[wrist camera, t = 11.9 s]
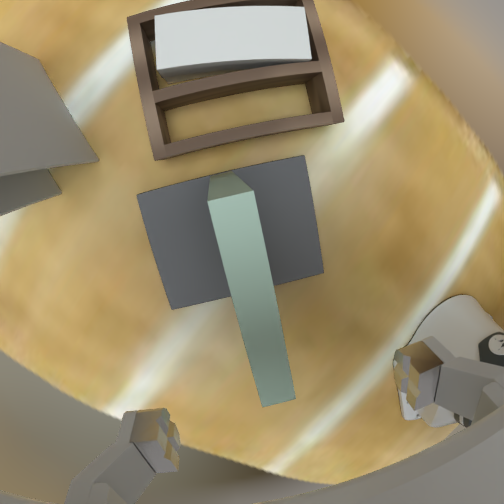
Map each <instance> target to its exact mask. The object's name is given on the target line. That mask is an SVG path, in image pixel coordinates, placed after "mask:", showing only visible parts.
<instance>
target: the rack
mask: <svg viewBox="0 0 504 504" xmlns="http://www.w3.org/2000/svg"><path fill="white" fill-rule="evenodd" d="M238 6H294V7H304V8H305V14H306V21H307V28H308V35H309V42H310V50H311V58H312V59H311V60H310V61H309V62H300V63H290V64H282V65H274V66H267V67H260V68H254V69H248V70H242V71H236V72H231V73H226V74H221V75H216V76H211V77H206V78H202V79H198V80H193V81H189V82H185V83H181V84H177V85H173V86H170V87H166V88H162V89H159V85H158V80H157V75H156V70H155V64H154V59H153V54H152V49H151V43H150V41H154V40H155V16H156V15H162V14H168V13H174V12H182V11H190V10H198V9H208V8H221V7H238ZM127 23H128V29H129V36H130V42H131V48H132V54H133V60H134V65H135V71H136V76H137V81H138V86H139V92H140V97H141V102H142V106H143V111H144V116H145V121H146V125H147V130H148V134H149V139H150V143H151V147H152V152H153V156H154V160H155V161H156V160H164V159H168V158H171V157H175V156H179V155H183V154H187V153H191V152H195V151H199V150H203V149H207V148H211V147H215V146H220V145H224V144H228V143H233V142H238V141H242V140H247V139H252V138H257V137H262V136H267V135H273V134H278V133H284V132H289V131H295V130H301V129H307V128H314V127H321V126H327V125H331V124H336V123H341V122H344V117H343V112H342V107H341V103H340V98H339V94H338V89H337V85H336V81H335V76H334V72H333V68H332V64H331V60H330V56H329V53H328V49H327V45H326V42H325V38H324V34H323V31H322V27H321V24H320V21H319V17H318V14H317V11H316V8H315V4H314V1H313V0H189V1H185V2H180V3H176V4H172V5H168V6H164V7H160V8H156V9H153V10H149V11H146V12H142V13H139V14H136V15H133V16H129V17H127ZM303 83H305V84H306V89H307V93H308V97H309V102H310V106H311V111H312V114H309V115H303V116H296V117H290V118H284V119H278V120H272V121H266V122H261V123H256V124H251V125H246V126H241V127H236V128H231V129H227V130H222V131H218V132H213V133H209V134H205V135H200V136H196V137H192V138H188V139H185V140H181V141H177V142H173V143H171V140H170V136H169V131H168V127H167V122H166V118H165V113H164V111H166V110H169V109H173V108H177V107H181V106H185V105H189V104H193V103H197V102H201V101H205V100H210V99H214V98H219V97H224V96H229V95H234V94H239V93H244V92H250V91H255V90H261V89H267V88H274V87H280V86H288V85H295V84H303Z"/></svg>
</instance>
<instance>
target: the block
mask: <svg viewBox="0 0 504 504" xmlns="http://www.w3.org/2000/svg"><path fill="white" fill-rule="evenodd" d="M207 202H208V206H209V210H210V214H211V218H212V222H213V226H214V230H215V234H216V238H217V242H218V246H219V250H220V254H221V258H222V262H223V266H224V270H225V274H226V277H227V281H228V285H229V289H230V293H231V296H232V300H233V304H234V308H235V311H236V315H237V319H238V322H239V326H240V330H241V333H242V337H243V341H244V344H245V348H246V351H247V355H248V359H249V362H250V366H251V369H252V373H253V376H254V380H255V383H256V387H257V390H258V394H259V397H260V400H261V404H262V407H266V406H270V405H274V404H278V403H282V402H286V401H290V400H294V399H296V397H295V391H294V386H293V381H292V376H291V371H290V366H289V361H288V355H287V350H286V345H285V340H284V335H283V330H282V325H281V320H280V315H279V310H278V305H277V300H276V296H275V291H274V286H273V281H272V276H271V271H270V266H269V261H268V257H267V252H266V247H265V242H264V237H263V233H262V228H261V223H260V218H259V214H258V209H257V204H256V200H255V195H254V191H253V190H252V189H251V188H250V187H249V186H248V185H247V184H246V183H245V182H243V181H242V180H241V179H240V178H239V177H238V176H237V175H236V174H234V173H233V172H232V171H230V172H226V173H221V174H217V175H213V176H210V182H209V191H208V200H207Z"/></svg>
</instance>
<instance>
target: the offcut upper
mask: <svg viewBox="0 0 504 504" xmlns="http://www.w3.org/2000/svg"><path fill="white" fill-rule="evenodd" d="M155 44H156V65H157V71H158V72H159V74H160V75H161V77H162V78H166V77H173V76H180V75H187V74H195V73H204V72H213V71H224V70H237V69H254V68H260V67H267V66H274V65H282V64H290V63H300V62H309V61H310V60H311V59H312V58H311V50H310V42H309V35H308V28H307V21H306V14H305V8H304V7H294V6H238V7H221V8H208V9H198V10H190V11H182V12H174V13H168V14H162V15H156V16H155Z"/></svg>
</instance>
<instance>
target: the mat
mask: <svg viewBox="0 0 504 504" xmlns="http://www.w3.org/2000/svg"><path fill="white" fill-rule="evenodd" d="M230 171H232V172H233V173H234V174H236V175H237V176H238V177H239V178H240V179H241V180H242V181H243V182H245V183H246V184H247V185H248V186H249V187H250V188H251V189H252V190H253V191H254V195H255V200H256V204H257V209H258V214H259V218H260V223H261V228H262V233H263V237H264V242H265V247H266V252H267V257H268V261H269V266H270V271H271V276H272V281H273V286H275V285H279V284H283V283H287V282H291V281H295V280H299V279H302V278H306V277H310V276H314V275H318V274H321V273H324V270H323V263H322V256H321V249H320V242H319V236H318V229H317V223H316V217H315V211H314V205H313V199H312V193H311V187H310V182H309V176H308V171H307V166H306V160H305V155H302V156H297V157H292V158H287V159H281V160H276V161H271V162H267V163H262V164H257V165H252V166H248V167H243V168H239V169H234V170H230ZM230 171H225V172H221V173H226V172H230ZM221 173H217V174H221ZM217 174H213V175H217ZM213 175H209V176H205V177H200V178H196V179H192V180H189V181H185V182H181V183H177V184H173V185H169V186H166V187H162V188H158V189H155V190H151V191H148V192H144V193H141V194H138V195H137V199H138V203H139V207H140V210H141V214H142V217H143V221H144V224H145V228H146V231H147V235H148V238H149V241H150V245H151V248H152V251H153V255H154V258H155V261H156V264H157V267H158V270H159V274H160V277H161V280H162V283H163V286H164V289H165V292H166V295H167V297H168V300H169V303H170V306H171V309H172V310H173V309H178V308H182V307H187V306H191V305H196V304H200V303H204V302H209V301H213V300H217V299H221V298H226V297H230V296H231V293H230V289H229V285H228V281H227V277H226V274H225V270H224V266H223V262H222V258H221V254H220V250H219V246H218V242H217V238H216V234H215V230H214V226H213V222H212V218H211V214H210V210H209V206H208V202H207V200H208V191H209V182H210V176H213Z"/></svg>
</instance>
